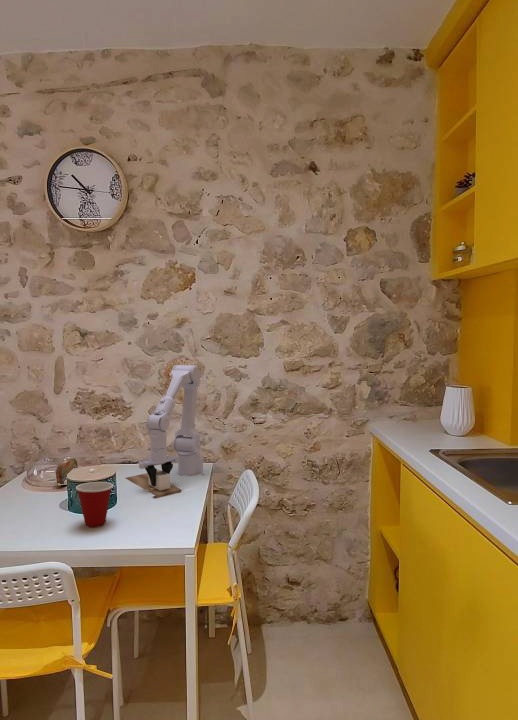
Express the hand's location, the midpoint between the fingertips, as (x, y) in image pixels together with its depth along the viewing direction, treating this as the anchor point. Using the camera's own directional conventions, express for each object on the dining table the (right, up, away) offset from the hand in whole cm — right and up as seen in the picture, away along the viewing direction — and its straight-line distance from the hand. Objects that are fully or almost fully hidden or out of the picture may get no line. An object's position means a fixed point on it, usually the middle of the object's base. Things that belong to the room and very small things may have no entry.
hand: (159, 484), depth 181 cm
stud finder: (0, -1, 0) cm, 1 cm away
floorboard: (-4, -2, +5) cm, 6 cm away
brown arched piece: (-37, -2, +10) cm, 39 cm away
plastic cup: (-13, -5, -30) cm, 33 cm away
